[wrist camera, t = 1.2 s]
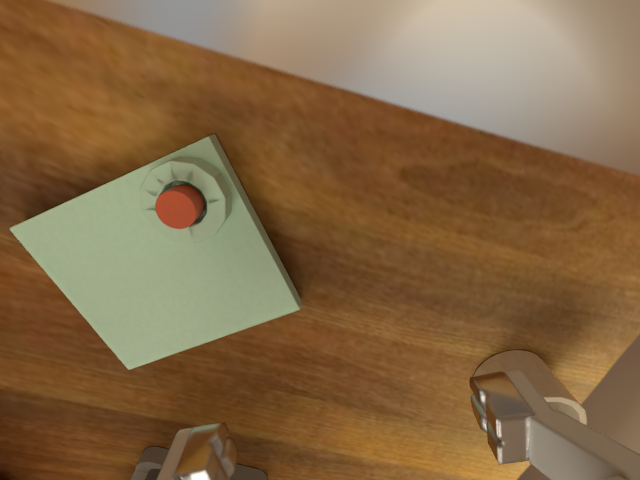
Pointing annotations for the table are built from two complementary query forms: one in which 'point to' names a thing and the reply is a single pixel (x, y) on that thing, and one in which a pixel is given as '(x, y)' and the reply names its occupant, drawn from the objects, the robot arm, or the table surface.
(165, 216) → the button
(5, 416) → the table surface
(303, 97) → the table surface
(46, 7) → the table surface
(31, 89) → the table surface
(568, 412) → the beige cup
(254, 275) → the scale
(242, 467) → the alarm clock
